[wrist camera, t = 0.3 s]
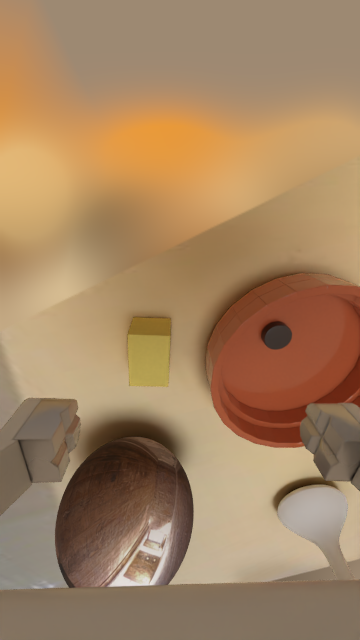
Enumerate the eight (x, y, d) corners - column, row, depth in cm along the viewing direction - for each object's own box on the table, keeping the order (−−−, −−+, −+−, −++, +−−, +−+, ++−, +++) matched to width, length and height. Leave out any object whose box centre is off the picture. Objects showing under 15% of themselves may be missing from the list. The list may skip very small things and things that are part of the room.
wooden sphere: (206, 428, 33) (231, 582, 19) (165, 490, 38) (162, 644, 25) (100, 397, 30) (41, 553, 16) (72, 469, 35) (11, 631, 22)
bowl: (215, 266, 23) (225, 279, 19) (401, 276, 25) (453, 290, 20) (197, 413, 32) (202, 447, 27) (338, 415, 33) (365, 448, 28)
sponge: (133, 316, 25) (127, 334, 22) (170, 318, 26) (170, 335, 22) (134, 363, 28) (129, 386, 24) (168, 364, 28) (168, 386, 24)
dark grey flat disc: (264, 320, 25) (267, 324, 24) (291, 321, 25) (295, 325, 24) (258, 344, 26) (261, 349, 26) (284, 345, 27) (288, 350, 26)
